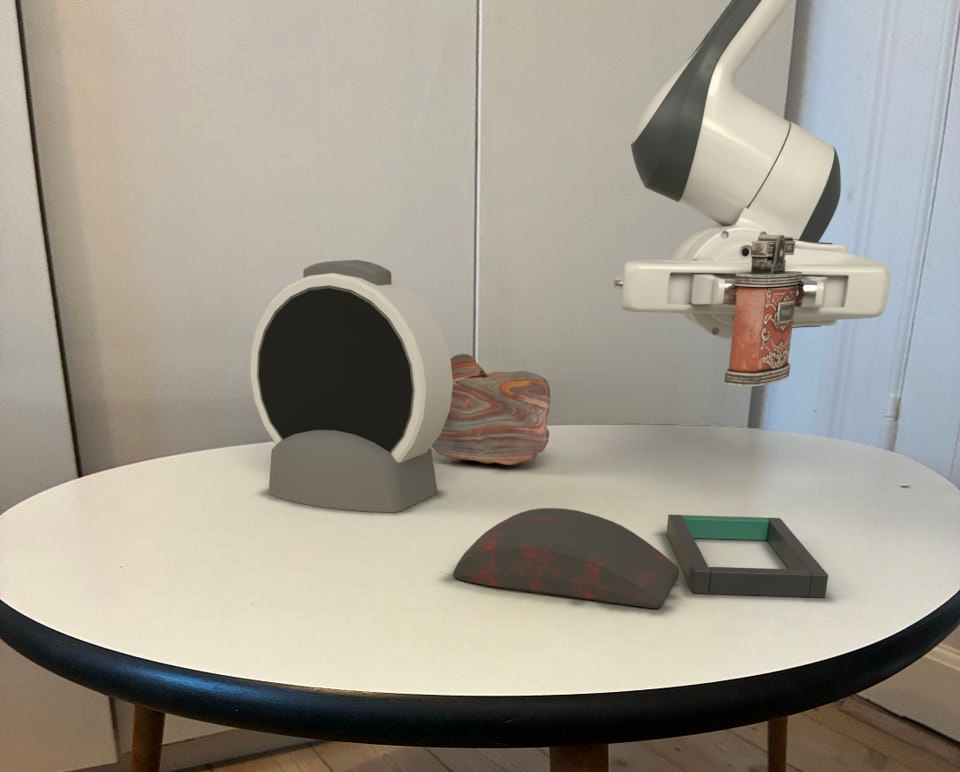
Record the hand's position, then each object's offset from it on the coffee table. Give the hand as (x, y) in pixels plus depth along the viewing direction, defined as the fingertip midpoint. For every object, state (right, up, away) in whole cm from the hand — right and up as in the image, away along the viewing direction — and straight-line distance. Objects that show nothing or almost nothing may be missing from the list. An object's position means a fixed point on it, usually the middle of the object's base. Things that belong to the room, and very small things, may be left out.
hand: (770, 294), depth 73 cm
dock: (-3, -19, -3) cm, 20 cm away
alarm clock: (-31, -13, +12) cm, 36 cm away
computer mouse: (-15, -21, -7) cm, 27 cm away
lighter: (0, -5, +3) cm, 6 cm away
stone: (-20, -8, +25) cm, 33 cm away
